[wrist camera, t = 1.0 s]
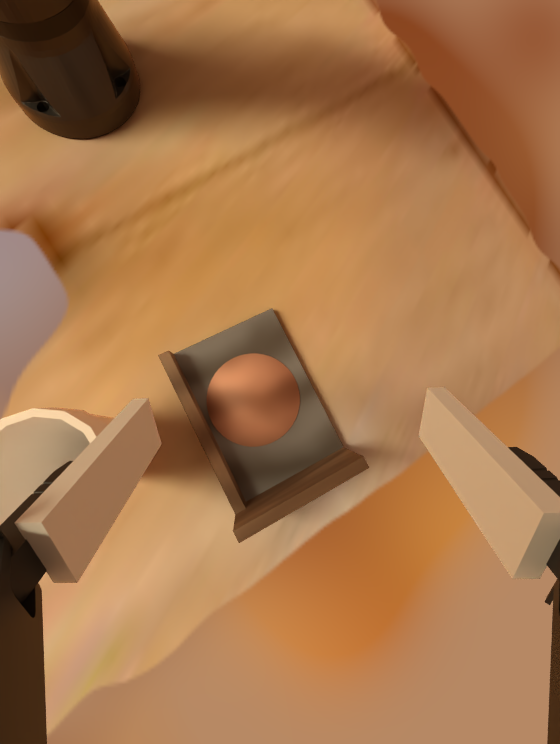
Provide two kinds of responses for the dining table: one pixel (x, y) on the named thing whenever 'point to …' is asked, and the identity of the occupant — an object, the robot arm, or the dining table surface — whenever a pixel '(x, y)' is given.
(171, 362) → the wooden-edged grey tray
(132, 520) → the dining table surface
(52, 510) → the robot arm
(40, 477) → the foam cup
